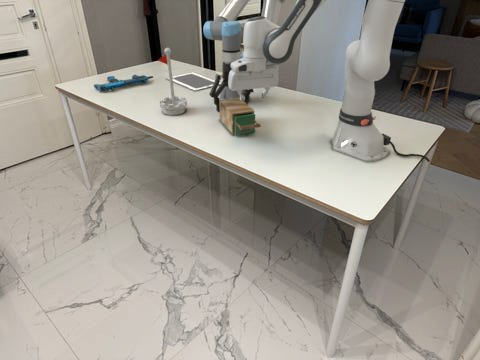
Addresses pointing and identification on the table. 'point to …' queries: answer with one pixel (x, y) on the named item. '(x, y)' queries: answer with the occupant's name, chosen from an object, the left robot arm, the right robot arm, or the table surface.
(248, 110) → the tan storage bin
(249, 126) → the drawer
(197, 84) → the tablet
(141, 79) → the submachine gun
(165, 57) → the flag stand
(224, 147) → the table surface
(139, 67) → the table surface
